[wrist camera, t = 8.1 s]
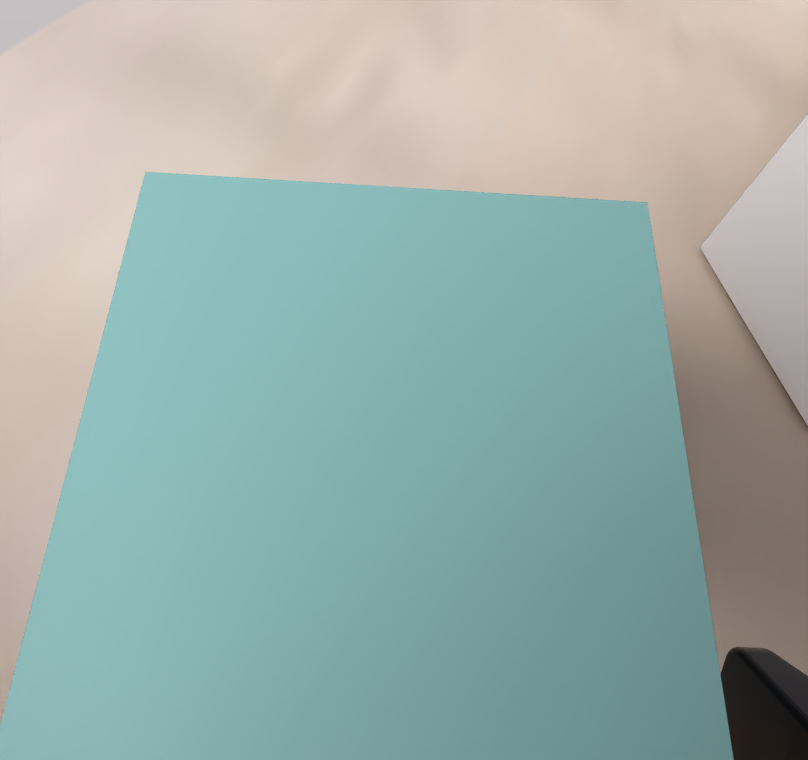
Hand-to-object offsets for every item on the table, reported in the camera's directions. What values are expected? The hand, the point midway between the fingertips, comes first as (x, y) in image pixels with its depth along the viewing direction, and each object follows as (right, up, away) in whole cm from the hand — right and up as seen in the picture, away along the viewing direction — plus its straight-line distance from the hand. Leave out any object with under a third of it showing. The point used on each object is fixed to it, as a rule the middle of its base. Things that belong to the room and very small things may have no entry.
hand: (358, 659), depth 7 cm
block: (0, -1, +8) cm, 8 cm away
